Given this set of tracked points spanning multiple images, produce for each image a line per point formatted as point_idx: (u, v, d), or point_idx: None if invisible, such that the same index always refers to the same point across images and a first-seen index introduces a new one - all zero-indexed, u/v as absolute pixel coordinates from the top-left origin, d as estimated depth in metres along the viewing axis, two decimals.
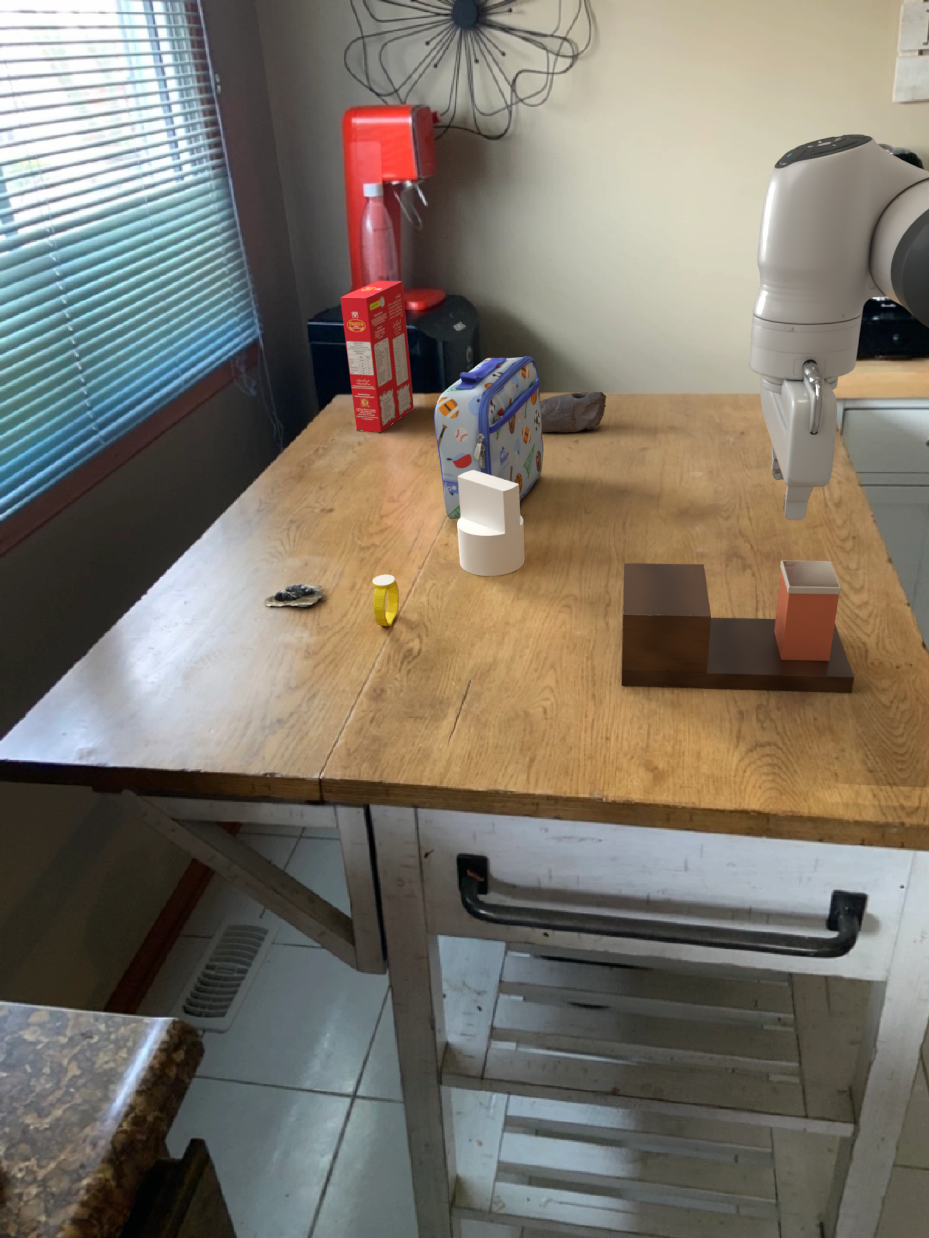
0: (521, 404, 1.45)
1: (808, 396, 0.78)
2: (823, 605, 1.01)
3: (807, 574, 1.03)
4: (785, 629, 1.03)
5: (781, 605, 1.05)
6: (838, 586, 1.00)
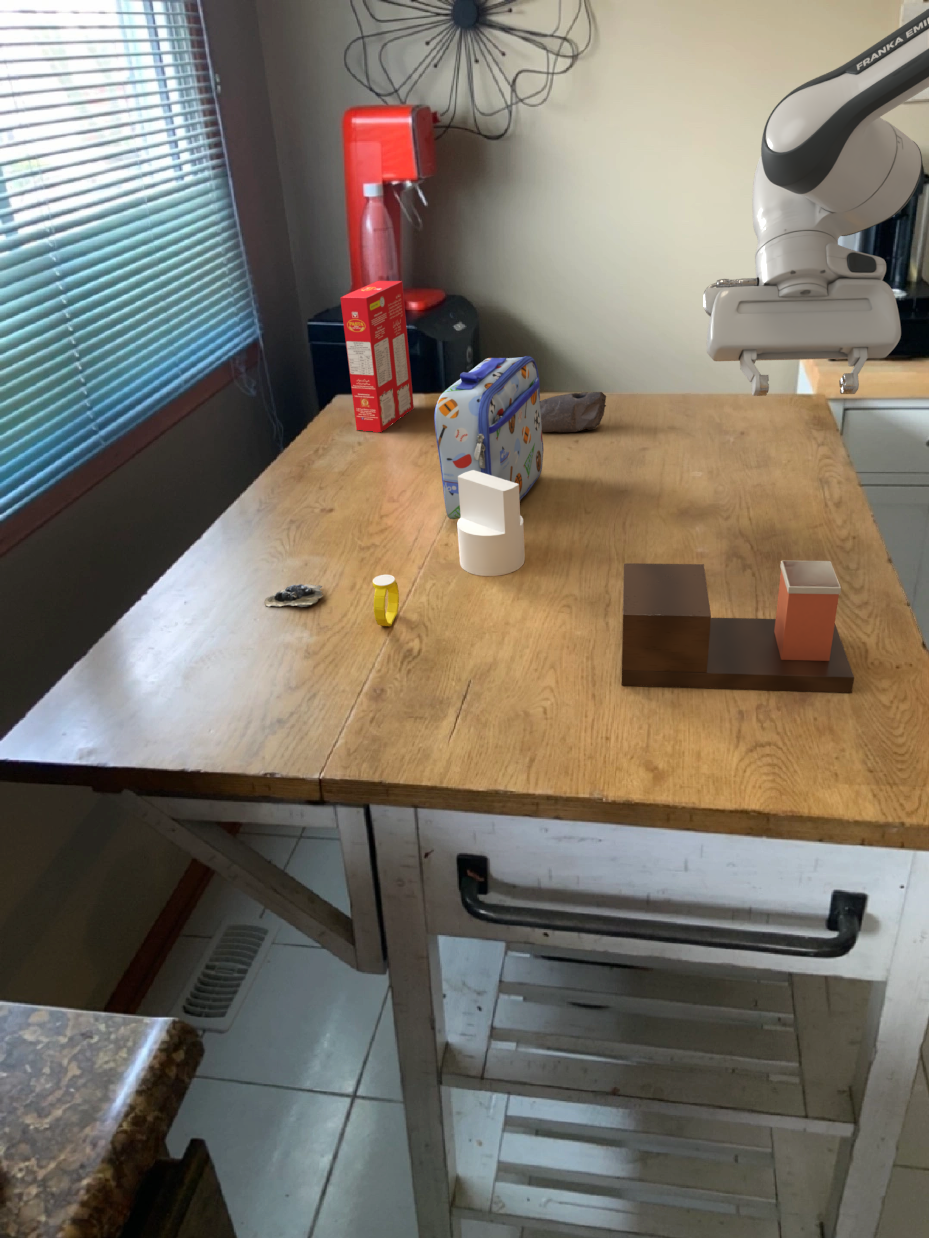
0: (521, 404, 1.45)
1: None
2: (823, 605, 1.01)
3: (807, 574, 1.03)
4: (785, 629, 1.03)
5: (781, 605, 1.05)
6: (838, 586, 1.00)
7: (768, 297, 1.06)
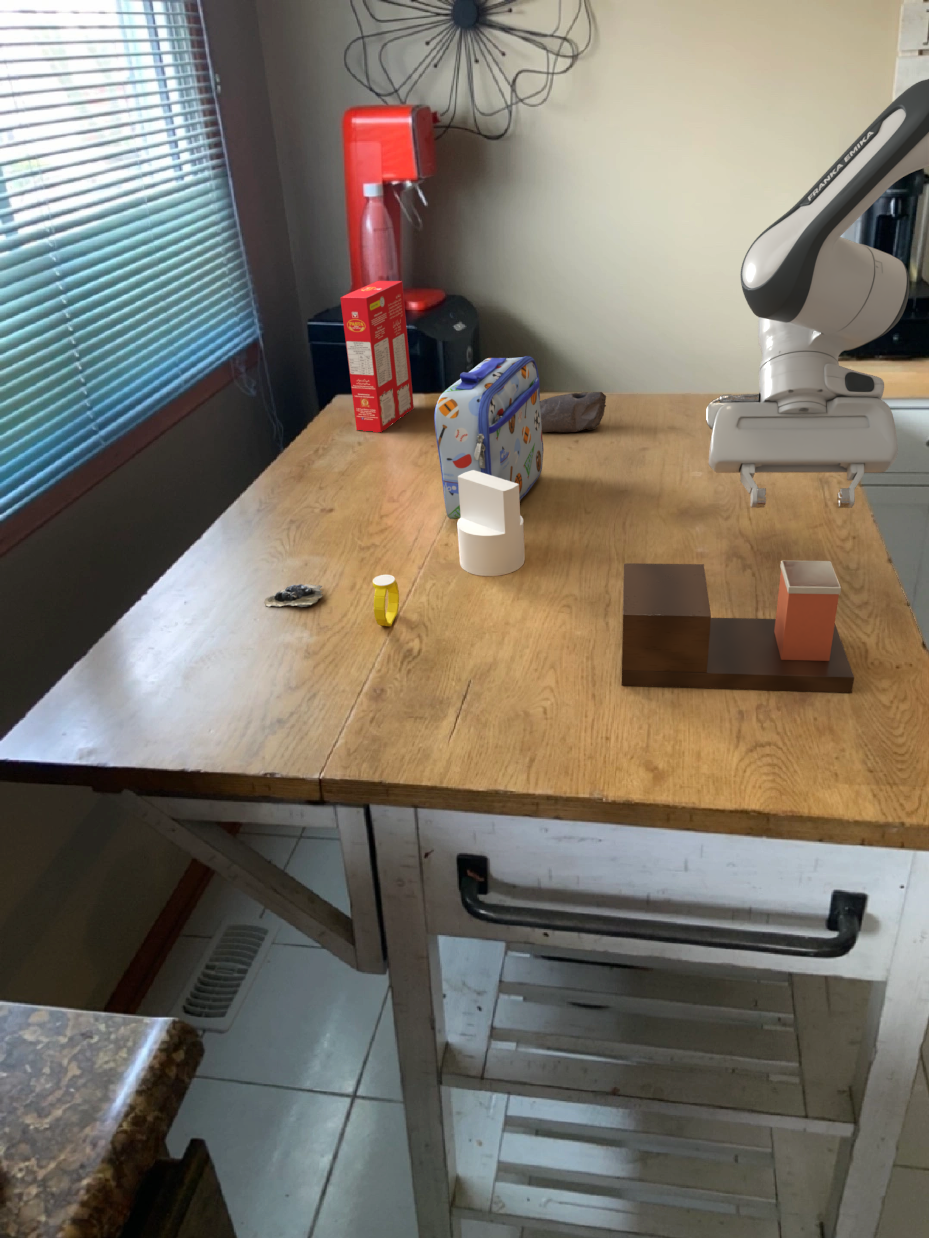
0: (521, 404, 1.45)
1: None
2: (823, 605, 1.01)
3: (807, 574, 1.03)
4: (785, 629, 1.03)
5: (781, 605, 1.05)
6: (838, 586, 1.00)
7: (768, 413, 1.10)
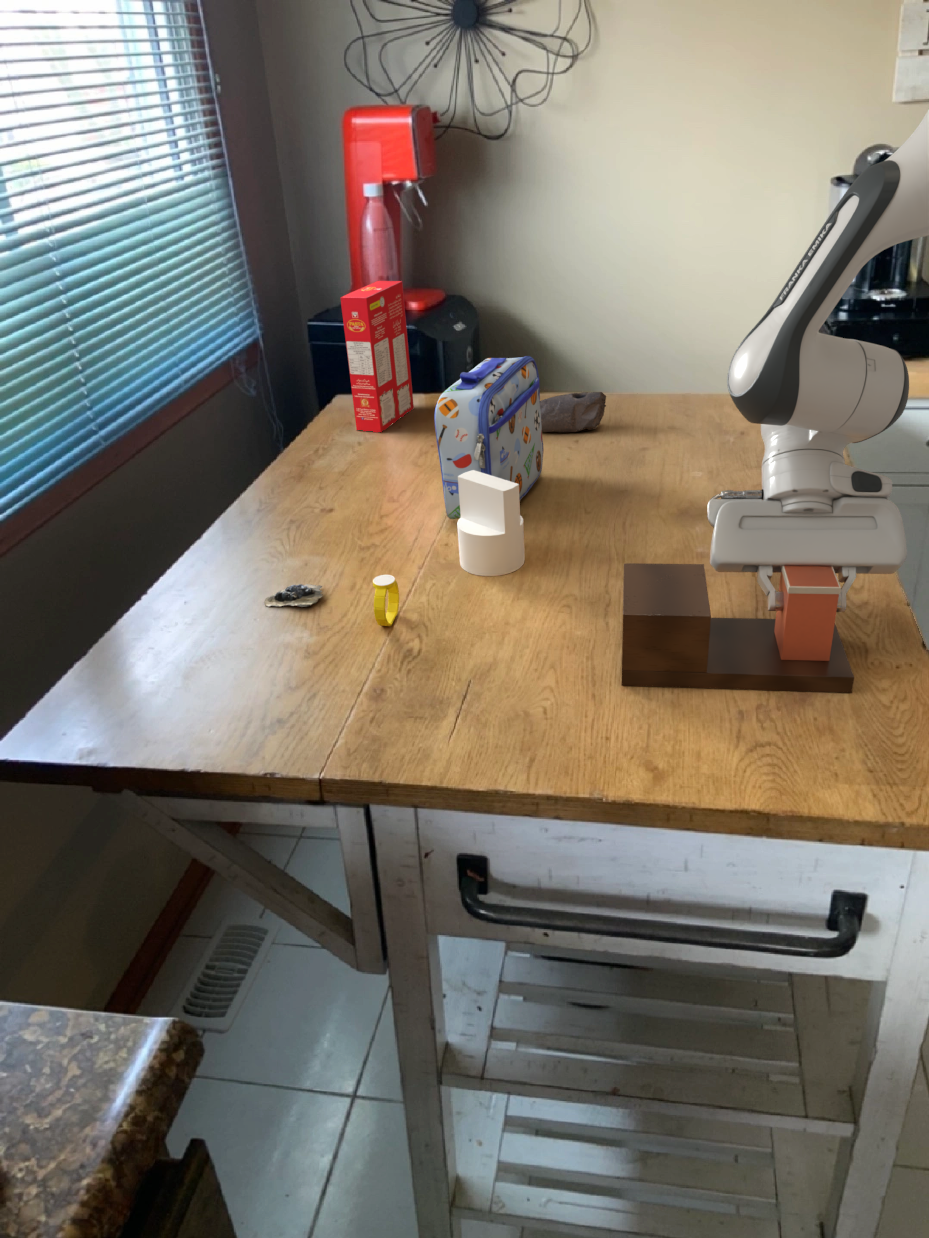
0: (521, 404, 1.45)
1: None
2: (823, 605, 1.01)
3: (807, 574, 1.03)
4: (785, 629, 1.03)
5: None
6: (838, 586, 1.00)
7: (771, 512, 1.06)
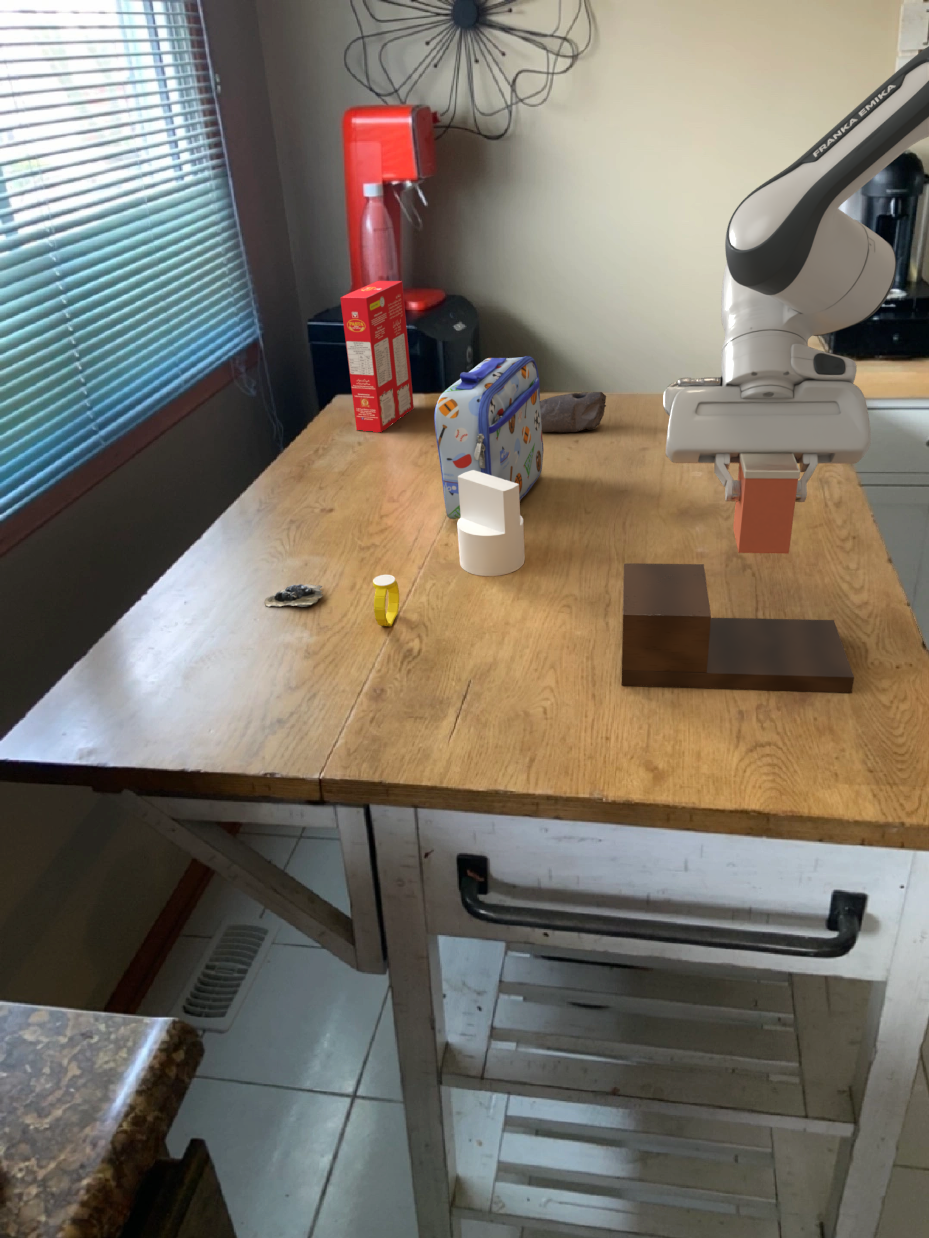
0: (521, 404, 1.45)
1: None
2: (781, 491, 0.96)
3: (765, 460, 0.97)
4: (742, 518, 0.98)
5: None
6: (797, 470, 0.94)
7: (729, 398, 1.00)
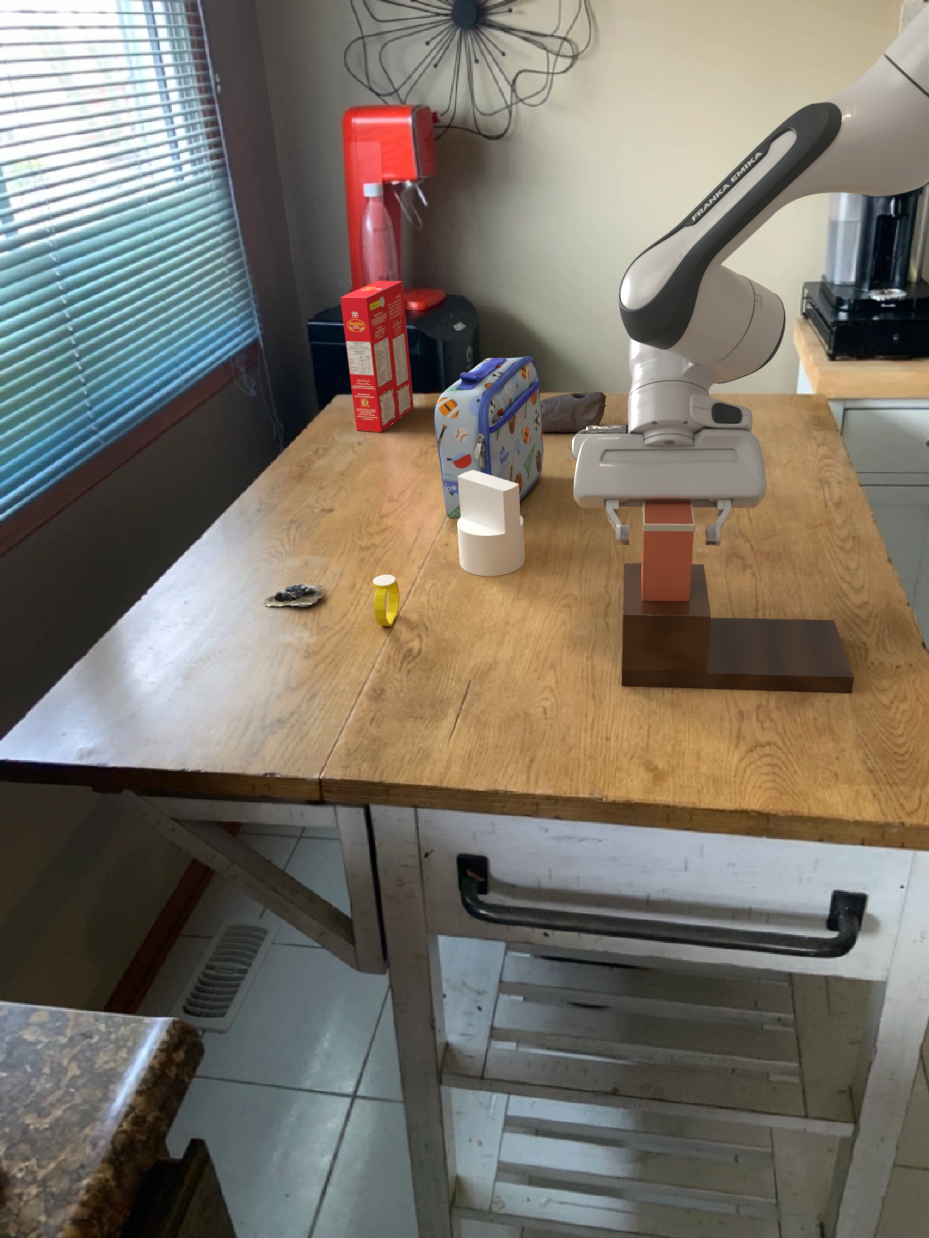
0: (521, 404, 1.45)
1: None
2: (678, 543, 1.00)
3: (665, 512, 1.02)
4: (643, 569, 1.02)
5: None
6: (692, 523, 0.99)
7: (633, 446, 1.04)
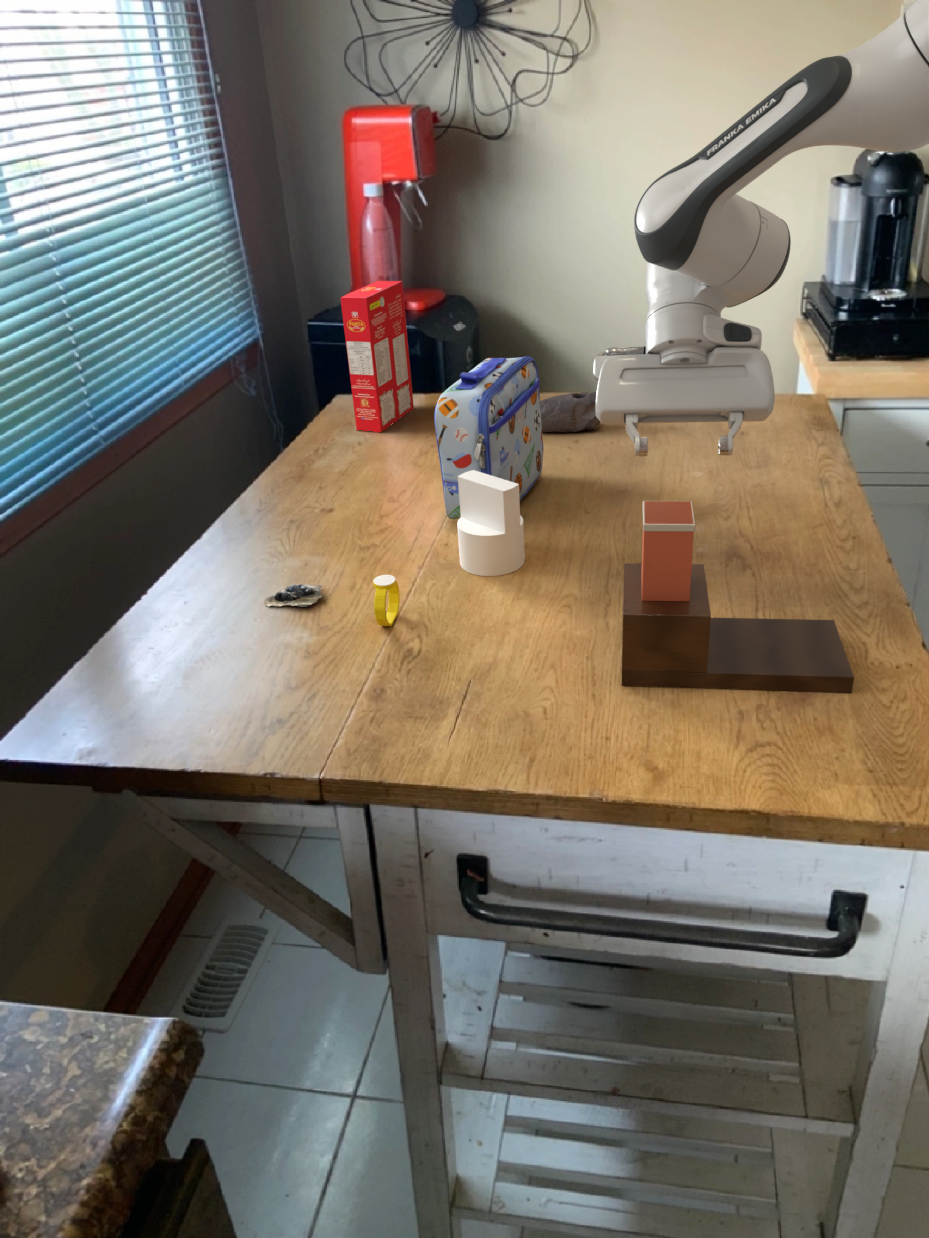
0: (521, 404, 1.45)
1: None
2: (678, 543, 1.00)
3: (665, 512, 1.02)
4: (643, 569, 1.02)
5: None
6: (692, 523, 0.99)
7: (650, 364, 1.12)
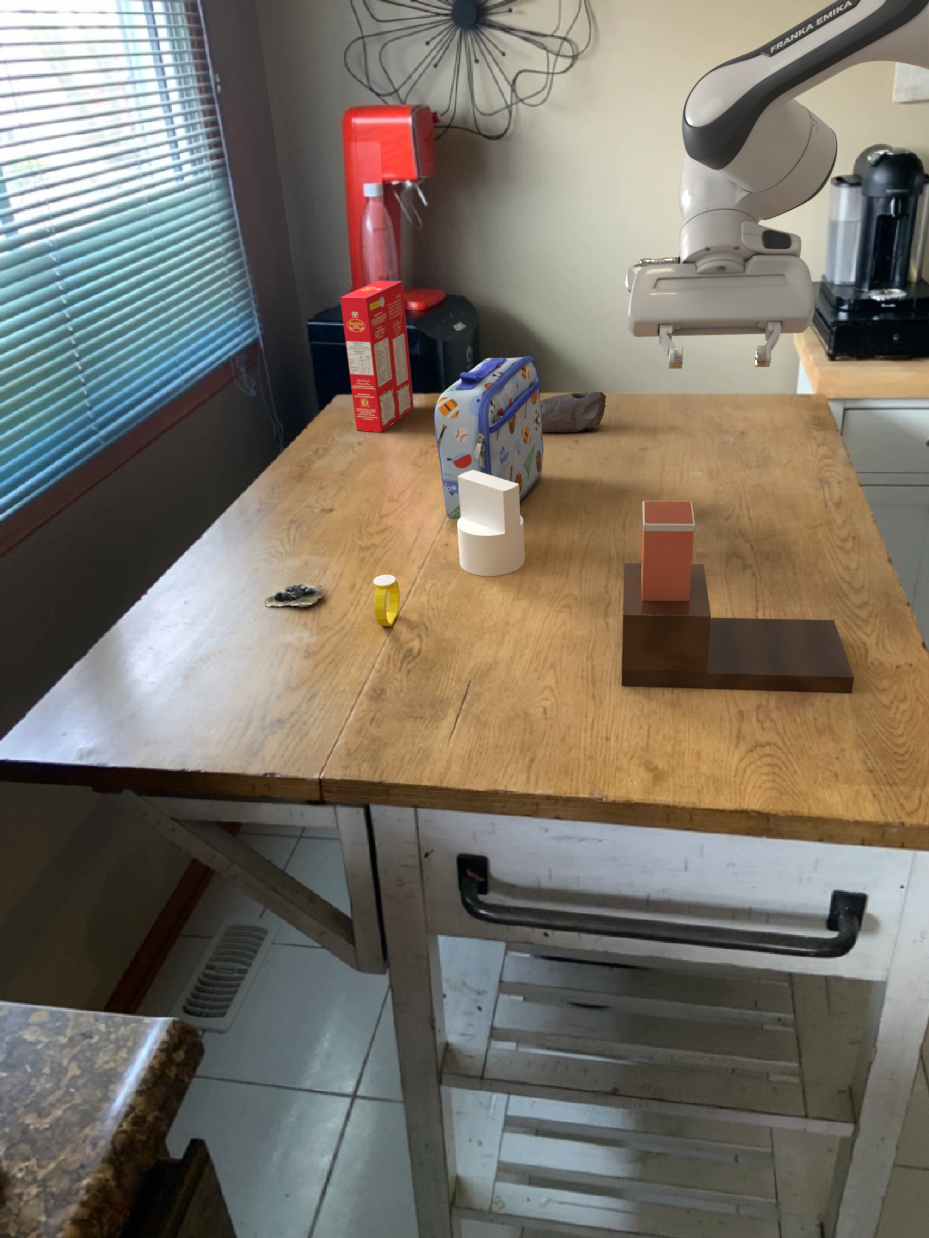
0: (521, 404, 1.45)
1: None
2: (678, 543, 1.00)
3: (665, 512, 1.02)
4: (643, 569, 1.02)
5: None
6: (692, 523, 0.99)
7: (685, 274, 1.09)
